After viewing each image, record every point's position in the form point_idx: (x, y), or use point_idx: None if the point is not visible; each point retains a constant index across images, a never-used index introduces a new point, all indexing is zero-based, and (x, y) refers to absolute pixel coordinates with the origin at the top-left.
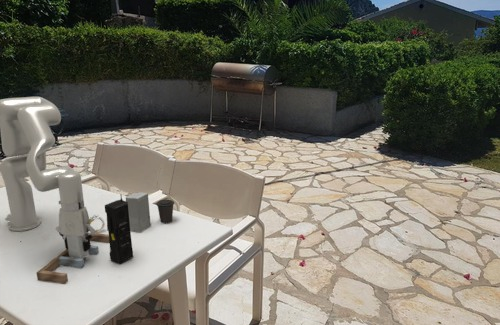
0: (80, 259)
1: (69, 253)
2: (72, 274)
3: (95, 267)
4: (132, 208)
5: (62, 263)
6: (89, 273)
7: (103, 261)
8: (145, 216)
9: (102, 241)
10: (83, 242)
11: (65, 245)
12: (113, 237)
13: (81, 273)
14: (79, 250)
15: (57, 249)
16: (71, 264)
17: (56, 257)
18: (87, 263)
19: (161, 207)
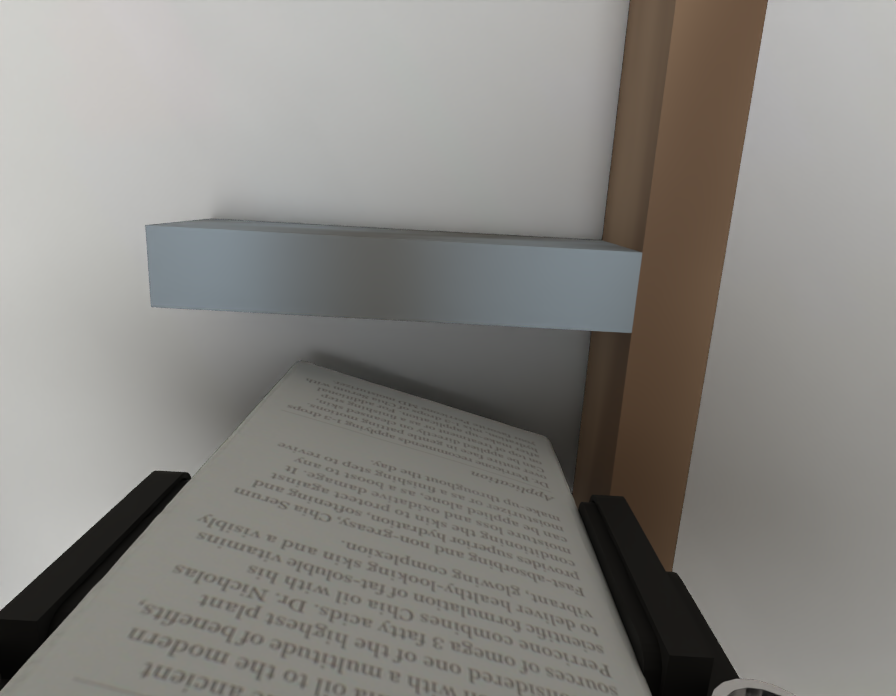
0: (196, 279)
1: (538, 454)
2: (250, 24)
3: (27, 274)
4: None
5: (553, 239)
6: (3, 96)
7: (22, 440)
8: None
9: None
10: (28, 614)
11: (645, 544)
12: None
13: (127, 76)
14: (234, 437)
15: (863, 637)
16: (381, 229)
17: (703, 280)
18: (217, 360)
19: None
